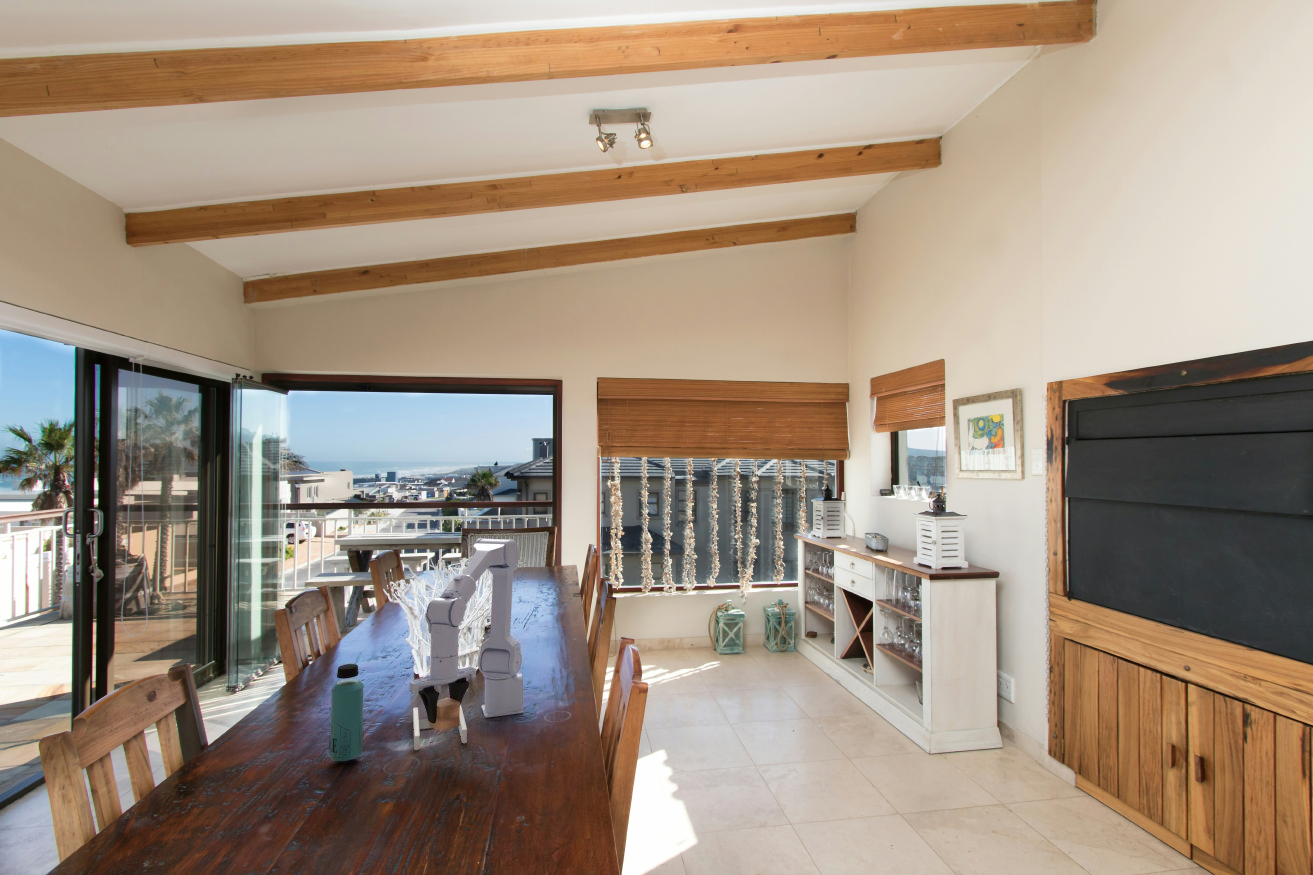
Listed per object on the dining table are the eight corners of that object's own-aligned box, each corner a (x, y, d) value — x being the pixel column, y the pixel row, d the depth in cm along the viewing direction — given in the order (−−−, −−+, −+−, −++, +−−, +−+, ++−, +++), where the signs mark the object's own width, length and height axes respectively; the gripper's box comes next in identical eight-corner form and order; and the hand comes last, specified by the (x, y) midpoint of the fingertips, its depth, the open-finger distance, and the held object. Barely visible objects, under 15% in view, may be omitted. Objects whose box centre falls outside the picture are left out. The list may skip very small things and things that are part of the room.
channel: (459, 714, 163) (460, 702, 163) (466, 742, 146) (466, 729, 146) (413, 720, 159) (413, 707, 159) (414, 750, 142) (414, 736, 142)
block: (448, 720, 143) (448, 696, 143) (459, 725, 140) (459, 701, 140) (429, 726, 139) (429, 702, 140) (440, 732, 136) (440, 707, 136)
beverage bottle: (370, 757, 138) (372, 662, 139) (345, 771, 132) (348, 671, 133) (345, 753, 141) (348, 659, 141) (320, 766, 134) (323, 667, 135)
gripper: (464, 644, 149) (463, 704, 148) (403, 657, 138) (401, 722, 137) (481, 650, 144) (480, 712, 143) (419, 664, 133) (417, 732, 133)
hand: (443, 718), depth 140 cm, fingers closed on block, 4 cm apart
